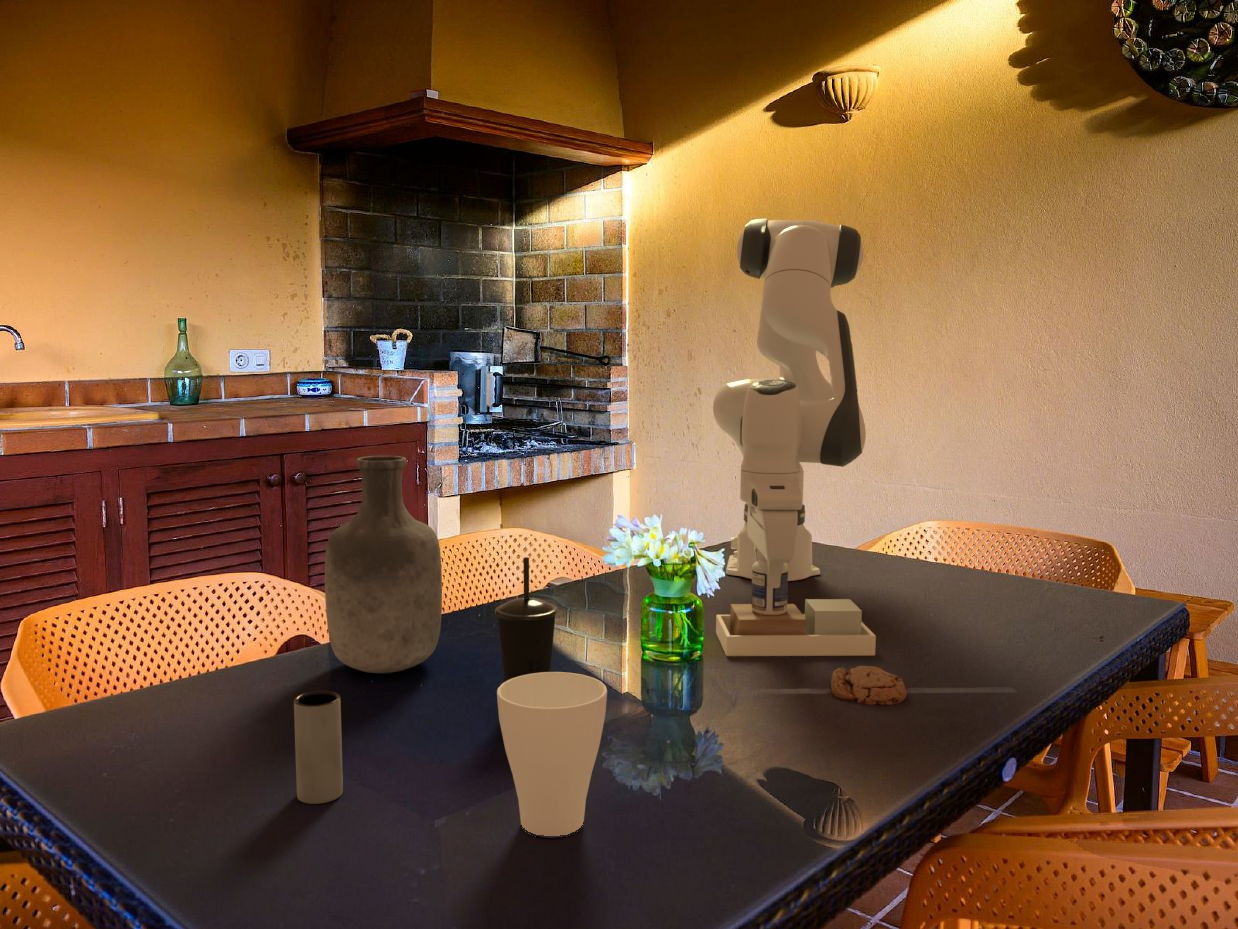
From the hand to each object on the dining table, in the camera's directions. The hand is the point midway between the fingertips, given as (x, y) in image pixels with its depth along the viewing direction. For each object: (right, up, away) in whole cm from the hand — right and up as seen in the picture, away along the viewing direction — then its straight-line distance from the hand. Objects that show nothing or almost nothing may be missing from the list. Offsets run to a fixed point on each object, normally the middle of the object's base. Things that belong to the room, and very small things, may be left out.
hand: (767, 579), depth 156 cm
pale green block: (+10, -10, +1) cm, 14 cm away
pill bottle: (0, -5, 0) cm, 5 cm away
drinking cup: (-34, -14, -28) cm, 46 cm away
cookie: (+11, -14, -18) cm, 25 cm away
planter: (-53, -17, -50) cm, 75 cm away
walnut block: (0, -10, +1) cm, 10 cm away
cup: (-29, -18, -57) cm, 66 cm away
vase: (-56, -12, -10) cm, 58 cm away
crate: (+4, -11, +1) cm, 11 cm away
